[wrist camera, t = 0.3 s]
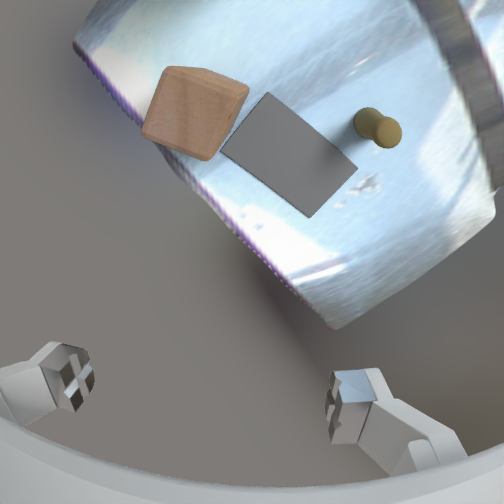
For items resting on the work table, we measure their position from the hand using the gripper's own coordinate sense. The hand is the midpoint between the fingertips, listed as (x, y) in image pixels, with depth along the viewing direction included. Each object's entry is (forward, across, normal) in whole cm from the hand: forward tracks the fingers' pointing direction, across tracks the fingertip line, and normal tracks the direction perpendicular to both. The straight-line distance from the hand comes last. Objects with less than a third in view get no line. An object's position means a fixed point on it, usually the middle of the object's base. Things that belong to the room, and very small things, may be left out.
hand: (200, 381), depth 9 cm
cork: (+48, -20, -17) cm, 55 cm away
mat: (+50, -6, -9) cm, 51 cm away
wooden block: (+47, +8, -19) cm, 52 cm away
